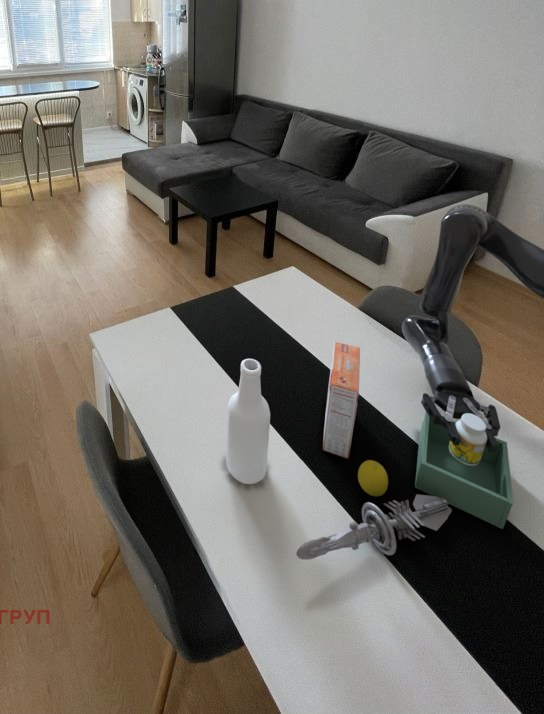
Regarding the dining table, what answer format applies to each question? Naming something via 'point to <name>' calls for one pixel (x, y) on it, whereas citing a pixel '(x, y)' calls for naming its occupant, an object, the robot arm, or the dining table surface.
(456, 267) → the robot arm
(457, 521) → the dining table surface
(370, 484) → the lemon
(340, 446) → the cracker box
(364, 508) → the spaceship
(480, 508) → the open storage box
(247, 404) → the alcohol
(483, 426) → the supplement bottle
